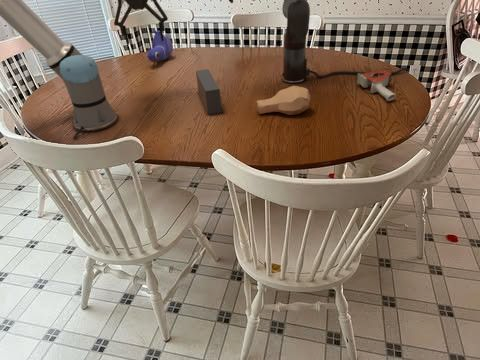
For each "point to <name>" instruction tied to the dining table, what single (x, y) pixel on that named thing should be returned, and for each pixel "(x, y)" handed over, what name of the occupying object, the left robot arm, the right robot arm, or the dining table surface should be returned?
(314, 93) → the dining table surface
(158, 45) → the toy
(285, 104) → the squash
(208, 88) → the bar
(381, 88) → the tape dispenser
